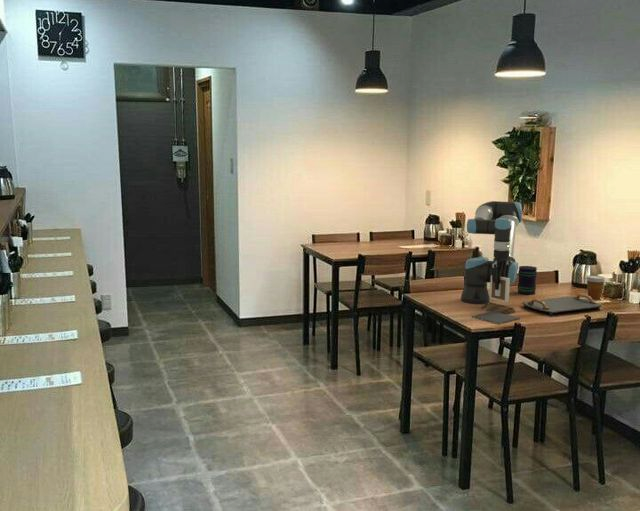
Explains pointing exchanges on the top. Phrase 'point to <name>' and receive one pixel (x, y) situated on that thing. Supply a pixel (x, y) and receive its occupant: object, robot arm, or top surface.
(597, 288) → the disposable coffee cup
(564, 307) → the serving board
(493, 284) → the white picture frame
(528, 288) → the storage jar
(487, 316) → the rubber mat
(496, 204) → the robot arm
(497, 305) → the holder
